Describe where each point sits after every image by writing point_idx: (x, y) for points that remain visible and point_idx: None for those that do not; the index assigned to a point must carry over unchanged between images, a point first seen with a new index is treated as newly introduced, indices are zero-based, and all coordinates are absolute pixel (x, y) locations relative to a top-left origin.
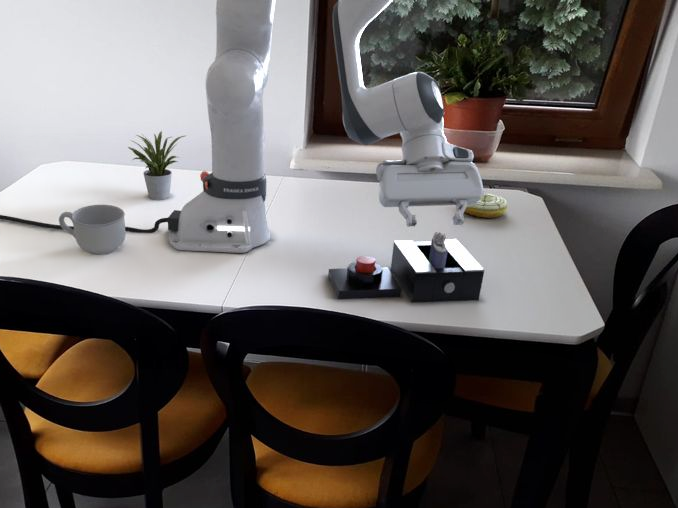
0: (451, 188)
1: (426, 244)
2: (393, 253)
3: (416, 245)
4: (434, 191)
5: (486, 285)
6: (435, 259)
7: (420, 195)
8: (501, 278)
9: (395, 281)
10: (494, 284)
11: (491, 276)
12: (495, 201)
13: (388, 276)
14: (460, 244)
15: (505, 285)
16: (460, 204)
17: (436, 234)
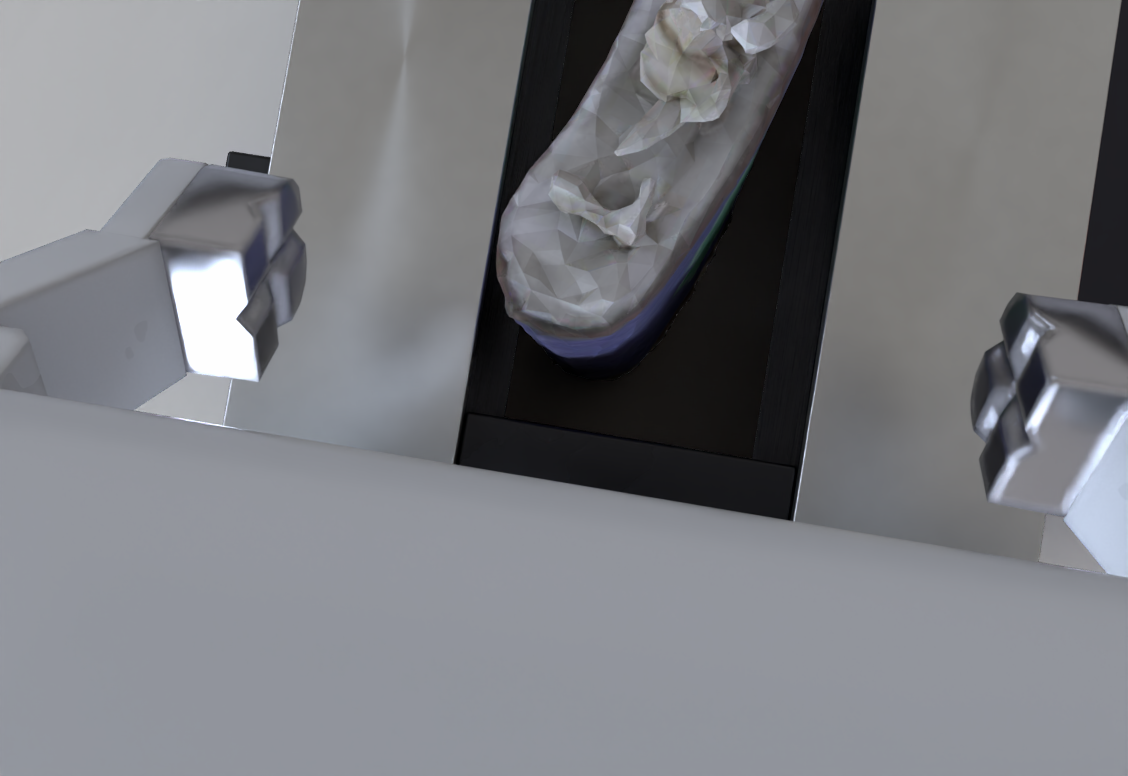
0: (4, 598)
1: (640, 464)
2: None
3: (780, 463)
4: (585, 629)
5: (210, 65)
6: None
7: (1030, 613)
8: (2, 162)
9: (1103, 141)
10: (132, 67)
11: (64, 221)
12: None
13: (1124, 263)
14: None
15: (51, 27)
16: (27, 343)
17: (617, 274)
